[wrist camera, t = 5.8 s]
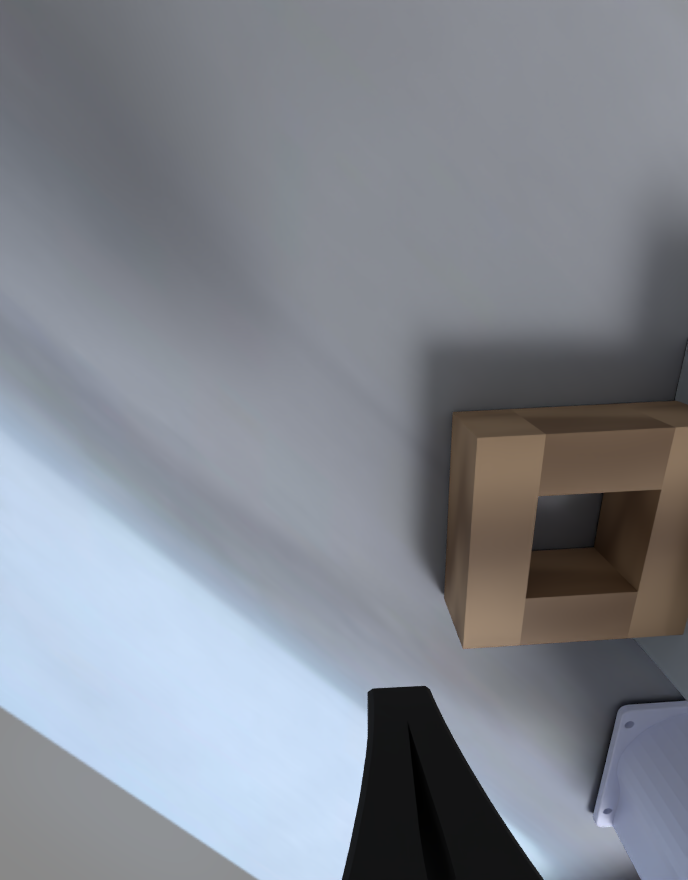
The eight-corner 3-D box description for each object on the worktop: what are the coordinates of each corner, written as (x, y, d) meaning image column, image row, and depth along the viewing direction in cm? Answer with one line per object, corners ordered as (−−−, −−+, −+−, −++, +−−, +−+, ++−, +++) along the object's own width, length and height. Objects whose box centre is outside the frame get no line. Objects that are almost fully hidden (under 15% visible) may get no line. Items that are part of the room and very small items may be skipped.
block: (634, 586, 21) (683, 634, 18) (444, 598, 21) (463, 648, 18) (676, 400, 18) (742, 423, 15) (452, 412, 18) (477, 437, 15)
